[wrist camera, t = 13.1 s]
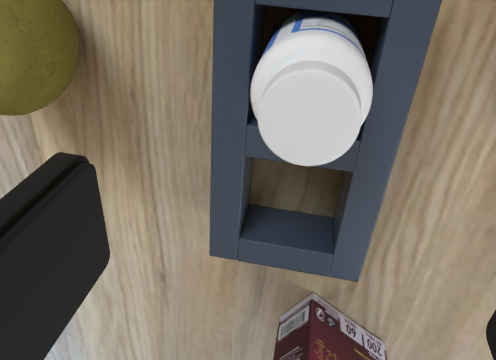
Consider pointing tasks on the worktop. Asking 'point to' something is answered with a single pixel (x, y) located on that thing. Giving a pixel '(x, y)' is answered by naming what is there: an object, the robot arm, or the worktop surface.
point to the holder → (351, 162)
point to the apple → (35, 53)
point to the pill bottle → (312, 88)
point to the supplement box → (323, 335)
